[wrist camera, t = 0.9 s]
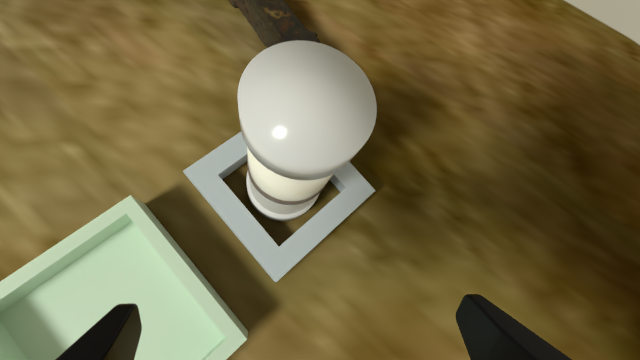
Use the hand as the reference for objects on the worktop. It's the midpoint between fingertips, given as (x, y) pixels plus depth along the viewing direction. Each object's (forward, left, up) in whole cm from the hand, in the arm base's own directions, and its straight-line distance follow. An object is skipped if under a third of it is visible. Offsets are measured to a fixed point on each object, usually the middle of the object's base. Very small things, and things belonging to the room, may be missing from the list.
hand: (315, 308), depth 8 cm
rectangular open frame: (+5, -5, -13) cm, 15 cm away
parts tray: (+5, +8, -13) cm, 16 cm away
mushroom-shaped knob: (+5, -5, -13) cm, 15 cm away
